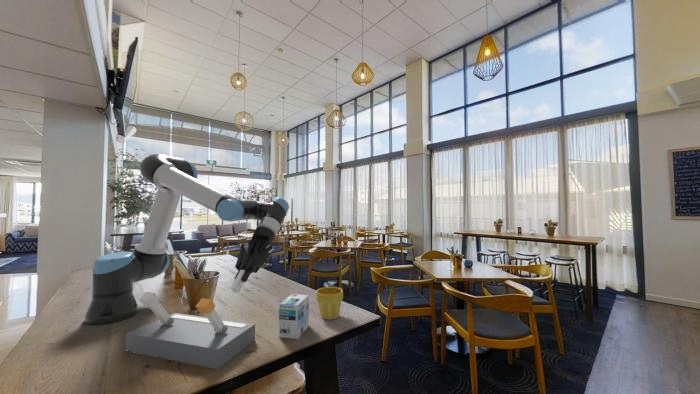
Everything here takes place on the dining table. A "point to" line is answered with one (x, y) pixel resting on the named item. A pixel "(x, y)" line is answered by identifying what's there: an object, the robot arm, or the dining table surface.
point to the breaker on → (156, 307)
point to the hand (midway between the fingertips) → (234, 290)
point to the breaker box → (191, 340)
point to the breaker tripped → (211, 314)
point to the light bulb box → (293, 316)
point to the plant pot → (329, 301)
